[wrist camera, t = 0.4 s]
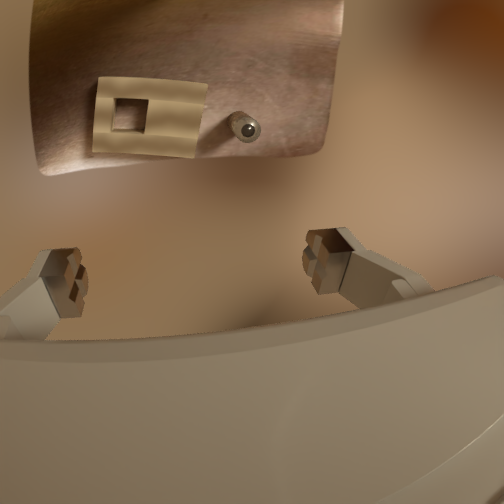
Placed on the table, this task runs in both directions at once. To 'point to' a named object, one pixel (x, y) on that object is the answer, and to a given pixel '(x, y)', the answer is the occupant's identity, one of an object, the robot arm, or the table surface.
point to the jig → (150, 116)
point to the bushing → (244, 126)
